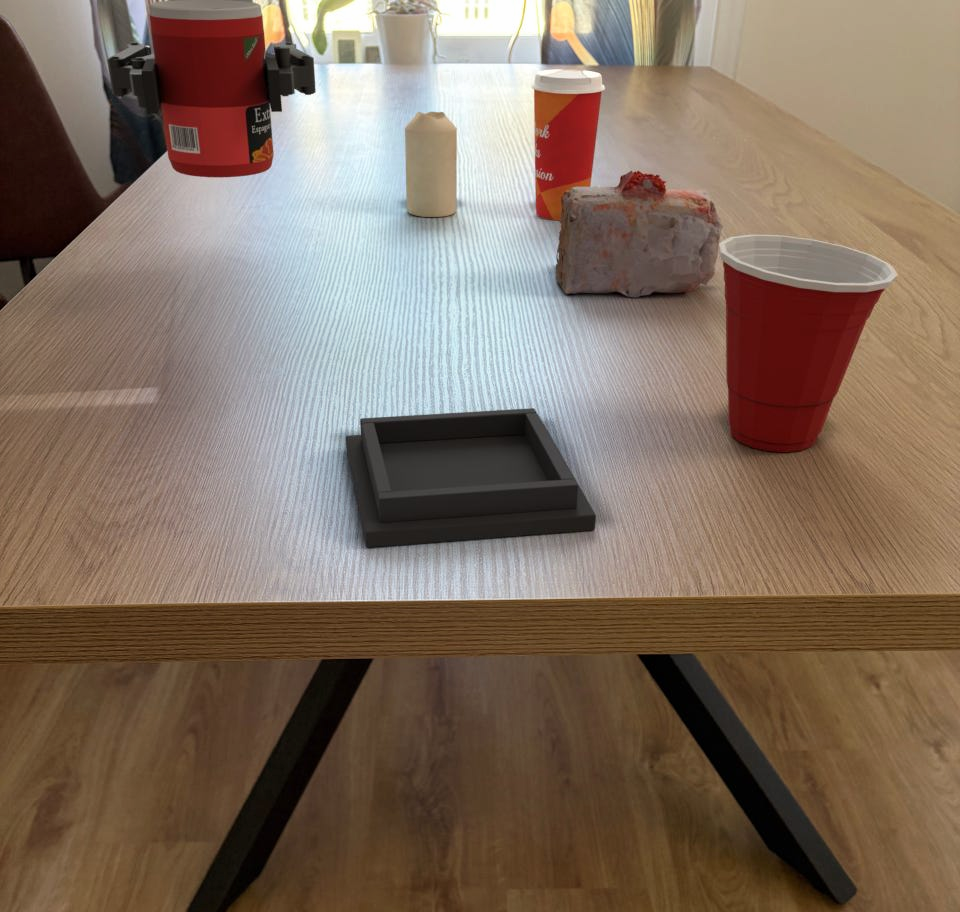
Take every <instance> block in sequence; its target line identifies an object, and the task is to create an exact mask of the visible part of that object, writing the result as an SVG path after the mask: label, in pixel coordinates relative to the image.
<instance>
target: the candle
mask: <svg viewBox="0 0 960 912" xmlns="http://www.w3.org/2000/svg"><path fill="white" fill-rule="evenodd" d="M457 140H458V129H457V127H456V125H455V124H454V123H453V122H452V121H451V120H450V118H449V117H448V116H447V115H446V114H445V113H444V112H443V111H439V112H438V111H429V112H425V113H423V112H422V111H421V112H420V111H417V112H416V114H415V115H414V117H413V118H412V119H411V120H410V121H409V122H408V123H407V124H406V126H405V127H404V146H405V147H404V149H405V193H406V197H405V199H406V201H405V202H406V211H407V213H408V214H410V215H412V216H417V217H421V218H422V217H423V218H425V217H426V218H440V217H448V216H451V215H454V214H456V212H457V201H458V200H457V191H458V187H457V185H458V184H457V173H458V171H457V170H458V169H457V167H458V166H457V163H458V161H457V160H458V158H457V156H458V155H457V154H458V152H457V151H458V148H457V147H458V146H457V145H458V141H457Z"/></svg>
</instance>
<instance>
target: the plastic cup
mask: <svg viewBox="0 0 960 912" xmlns="http://www.w3.org/2000/svg"><path fill="white" fill-rule="evenodd" d="M718 253H719V257H720V260H721V261H722V266H723V281H724V296H723V297H724V300H725V363H726V364H725V365H726V366H725V367H726V369H725V372H726V373H725V375H726V376H725V377H726V385H727V410H728V411H727V413H728V415H727V416H728V418H727V419H728V423H729V429H730V435H731V437H733V438H734V439H735V440H736V441H737V442H738V443H741V444H743V445H746V446H747V447H750V448H752V449H758V450H762V451H767V452H777V453H778V452H779V453H790V452H798V451H804V450H806V449H808V448H811V447H812V446H813V445H814V444H815V443H816V441H817V439H818V437H819V435H820V434H821V432H822V430H823V428H824V426H825V423H826V420H827V418H828V415H829V412H830V409H831V406H832V404H833V401H834V399H835V397H836V396H837V395H838V392H839V390H840V388H841V385H842V383H843V380H844V377H845V375H846V373H847V371H848V368H849V365H850V362H851V360H852V358H853V355H854V353H855V350H856V347H857V345H858V343H859V340H860V338H861V335H862V333H863V330H864V327H865V325H866V323H867V320H868V319H869V318H870V317H871V315H872V312H873V310H874V308H875V306H876V304H877V303H878V302H879V301H880V299H881V296H882V294H883V292H885V290H886V289H888V288H889V287H890V286H891V285H892V283H894V282H895V280H896V279H897V278H898V276H899V273H898V272H897V271H896V270H895V268H894V267H893V265H892V264H890V263H888V262H886V261H884V260H883V259H880V258H878V257H877V256H875V255H872V254H870V253H867V252H864V251H861V250H857V249H854V248H852V247H848V246H846V245H840V244H836V243H831V242H827V241H821V240H817V239H812V238H805V237H796V236H788V235H780V234H778V235H777V234H745V235H738V236H729V237H728V238H726V239H724V240H722V241H721V242H720V241H719V247H718Z"/></svg>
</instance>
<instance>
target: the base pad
mask: <svg viewBox="0 0 960 912" xmlns="http://www.w3.org/2000/svg"><path fill="white" fill-rule="evenodd" d="M359 426H360V434H352V435H346V436H345V445H346V446H345V447H346V448H345V449H346V454H347V459H348V465H349V469H350V474H351V478H352V484H353V488H354V489H353V490H354V494H355V498H356V504H357V509H358V514H359V518H360V523H361V528H362V534H363V538H364V539H363V540H364V544H365V547H366V548H380V547H392V546H393V547H394V546H405V545H406V546H407V545H418V544H419V545H420V544H431V543H432V544H433V543H442V542H443V543H444V542H457V541H458V542H459V541H470V540H471V541H472V540H484V539H496V538H497V539H498V538H509V537H510V538H511V537H523V536H535V535H536V536H537V535H547V534H548V535H549V534H560V533H572V532H573V533H574V532H575V533H576V532H588V531H595V530H596V523H597V522H596V521H597V515H596V512H595V510H594V509H593V508H592V505H591V504H590V502H589V501H588V498H587V497H586V495H585V493H584V492H583V490H582V488H581V486H580V484H579V483H578V481H577V480H576V478H575V476H574V473H573V472H572V471H571V469H570V466H568V464H567V462H566V460H565V458H564V457H563V455H562V453H561V452H560V450H559V448H558V446H557V445H556V443H555V441H554V439H553V437H552V435H551V434H550V432H549V430H548V429H547V426H546V425H545V423H544V422H543V421H542V419H541V417H540V415H539V413H538V412H537V410H536V408H534V407H533V408H532V407H530V408H515V409H498V410H497V409H495V410H482V411H478V410H477V411H463V412H446V413H430V414H412V415H411V414H410V415H396V416H382V417H381V416H379V417H362V418H360V419H359Z"/></svg>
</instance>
